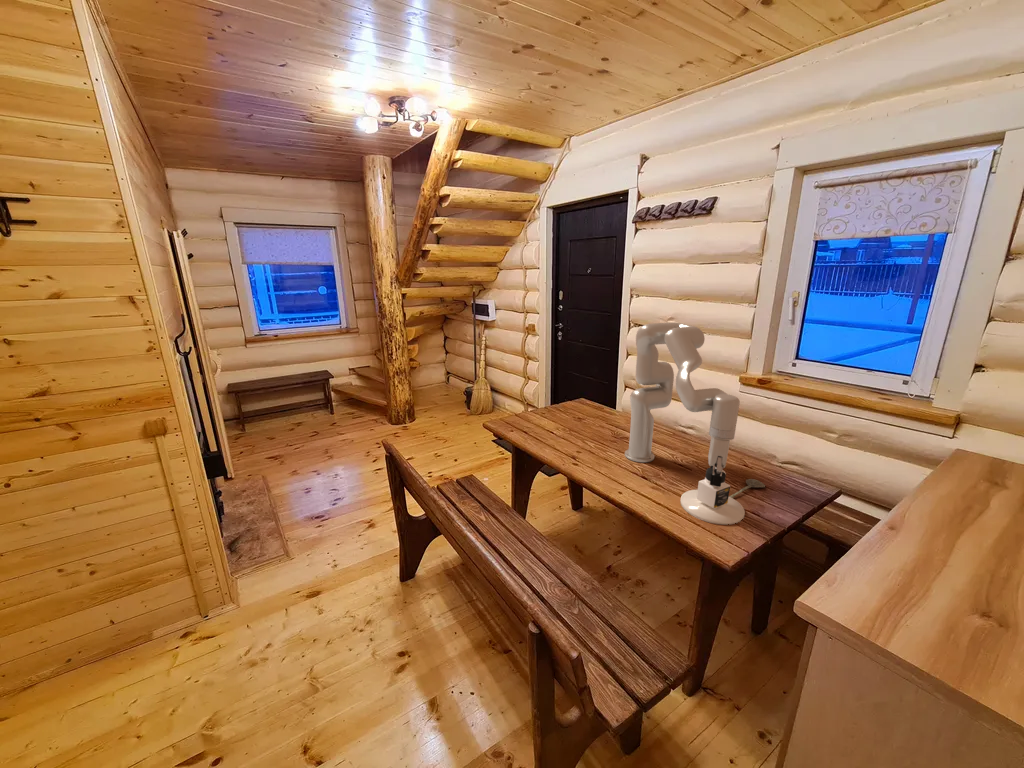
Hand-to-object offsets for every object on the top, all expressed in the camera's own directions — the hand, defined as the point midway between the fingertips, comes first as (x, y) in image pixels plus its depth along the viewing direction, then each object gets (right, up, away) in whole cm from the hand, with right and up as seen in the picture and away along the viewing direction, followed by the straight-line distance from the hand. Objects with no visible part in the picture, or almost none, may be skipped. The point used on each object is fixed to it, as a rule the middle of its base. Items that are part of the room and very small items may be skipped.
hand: (714, 480), depth 138 cm
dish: (0, -10, +3) cm, 10 cm away
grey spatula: (+18, -8, +13) cm, 24 cm away
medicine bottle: (0, -8, +2) cm, 8 cm away
